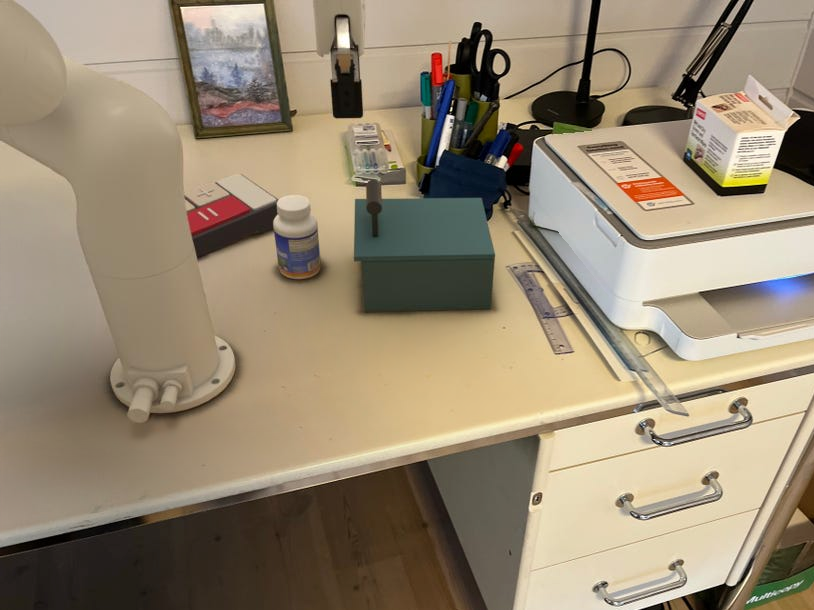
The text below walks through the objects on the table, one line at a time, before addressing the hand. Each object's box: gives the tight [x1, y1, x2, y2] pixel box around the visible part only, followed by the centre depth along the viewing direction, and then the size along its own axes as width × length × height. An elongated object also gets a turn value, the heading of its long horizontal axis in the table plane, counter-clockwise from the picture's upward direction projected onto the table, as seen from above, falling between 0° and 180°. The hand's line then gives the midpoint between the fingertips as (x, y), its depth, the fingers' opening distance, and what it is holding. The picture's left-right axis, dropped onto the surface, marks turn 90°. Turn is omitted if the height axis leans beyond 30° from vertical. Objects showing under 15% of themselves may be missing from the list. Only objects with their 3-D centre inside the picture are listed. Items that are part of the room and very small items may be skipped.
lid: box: [353, 179, 496, 262], centre depth 91 cm, size 16×14×6 cm
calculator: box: [184, 173, 279, 258], centre depth 103 cm, size 11×4×15 cm
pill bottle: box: [273, 194, 322, 280], centre depth 95 cm, size 5×5×10 cm
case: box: [360, 258, 496, 313], centre depth 95 cm, size 16×14×7 cm
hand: (347, 99), depth 84 cm, fingers open, 9 cm apart
